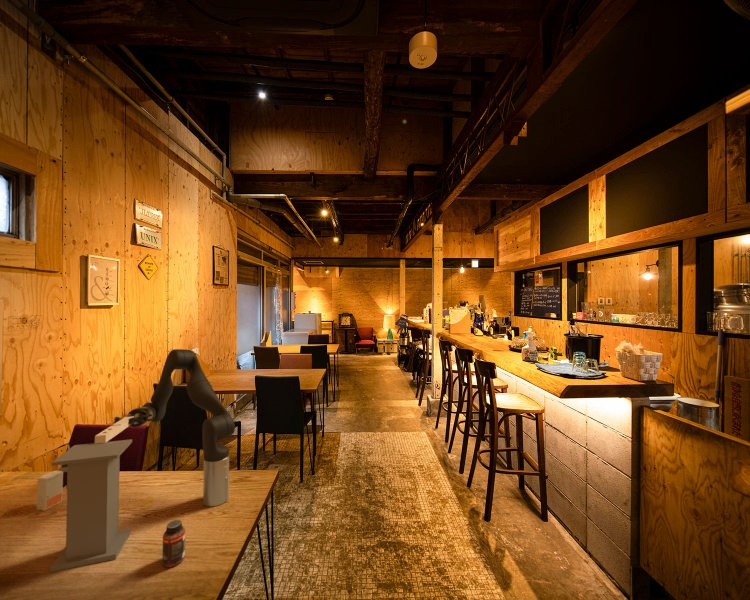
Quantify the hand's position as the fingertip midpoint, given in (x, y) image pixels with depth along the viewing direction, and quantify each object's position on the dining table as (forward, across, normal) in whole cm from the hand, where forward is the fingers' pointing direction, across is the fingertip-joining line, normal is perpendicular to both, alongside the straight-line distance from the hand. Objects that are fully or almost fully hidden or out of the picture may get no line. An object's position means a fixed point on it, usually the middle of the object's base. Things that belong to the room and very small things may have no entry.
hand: (124, 422), depth 127 cm
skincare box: (-15, -27, +30) cm, 43 cm away
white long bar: (+7, 0, +3) cm, 7 cm away
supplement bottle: (+28, +26, +39) cm, 55 cm away
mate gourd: (-32, -29, +27) cm, 51 cm away
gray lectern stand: (+17, +1, +37) cm, 40 cm away
